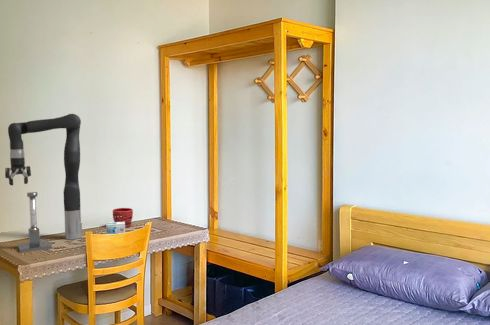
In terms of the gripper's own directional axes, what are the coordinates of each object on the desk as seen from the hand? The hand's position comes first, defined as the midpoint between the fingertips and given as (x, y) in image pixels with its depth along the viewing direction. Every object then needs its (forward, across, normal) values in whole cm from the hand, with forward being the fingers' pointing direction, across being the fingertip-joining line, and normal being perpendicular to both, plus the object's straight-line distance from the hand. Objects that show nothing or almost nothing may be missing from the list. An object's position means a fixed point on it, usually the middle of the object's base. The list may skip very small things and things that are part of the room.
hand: (18, 184), depth 271 cm
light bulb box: (+35, +31, -47) cm, 66 cm away
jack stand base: (+34, -4, -20) cm, 40 cm away
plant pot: (+35, +60, -19) cm, 72 cm away
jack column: (+27, -4, -20) cm, 34 cm away
